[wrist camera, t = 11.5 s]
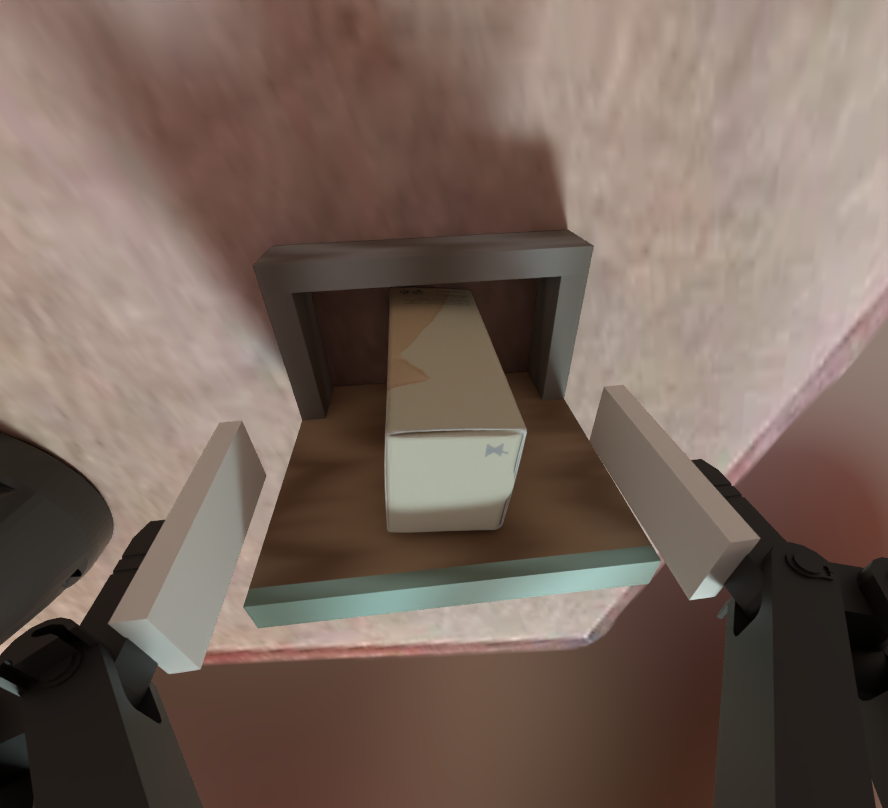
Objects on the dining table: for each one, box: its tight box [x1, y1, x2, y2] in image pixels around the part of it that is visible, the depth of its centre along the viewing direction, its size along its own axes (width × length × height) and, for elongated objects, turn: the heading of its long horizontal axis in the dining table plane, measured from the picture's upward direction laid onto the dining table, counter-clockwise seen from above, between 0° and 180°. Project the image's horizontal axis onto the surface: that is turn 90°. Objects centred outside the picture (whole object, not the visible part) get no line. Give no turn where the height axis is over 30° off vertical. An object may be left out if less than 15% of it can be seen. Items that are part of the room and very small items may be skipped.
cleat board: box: [243, 230, 661, 628], centre depth 16 cm, size 14×10×13 cm
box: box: [384, 288, 527, 533], centre depth 17 cm, size 5×4×11 cm
